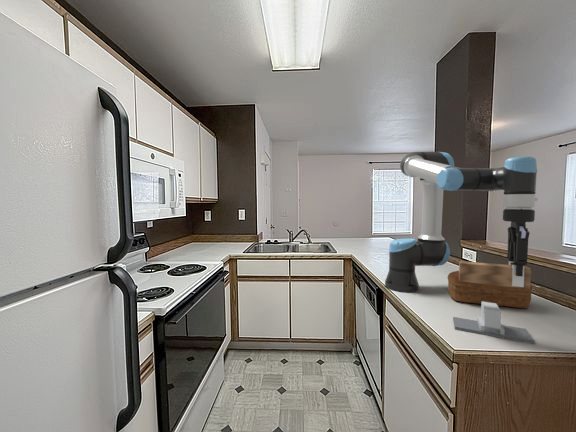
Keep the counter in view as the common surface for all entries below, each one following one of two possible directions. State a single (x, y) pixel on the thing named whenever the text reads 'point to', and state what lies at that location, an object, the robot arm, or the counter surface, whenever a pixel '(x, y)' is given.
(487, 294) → the bread
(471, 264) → the walnut beam
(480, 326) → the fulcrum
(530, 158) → the robot arm
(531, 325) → the counter surface
